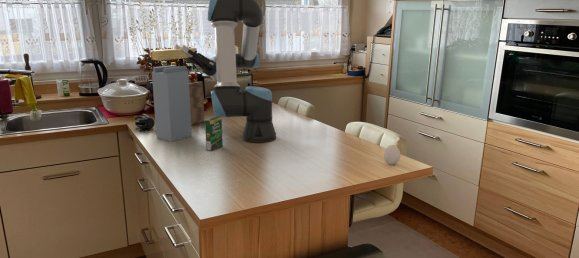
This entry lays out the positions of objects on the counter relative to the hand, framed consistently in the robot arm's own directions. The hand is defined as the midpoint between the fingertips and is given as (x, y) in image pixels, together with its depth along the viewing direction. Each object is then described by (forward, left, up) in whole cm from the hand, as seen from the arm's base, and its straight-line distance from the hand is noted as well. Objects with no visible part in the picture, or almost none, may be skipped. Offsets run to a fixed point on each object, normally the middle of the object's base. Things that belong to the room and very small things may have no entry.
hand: (179, 47), depth 198 cm
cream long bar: (0, +2, -5) cm, 5 cm away
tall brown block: (+19, -16, -40) cm, 47 cm away
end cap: (+22, +8, -41) cm, 47 cm away
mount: (-1, +6, -40) cm, 41 cm away
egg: (-92, -33, -40) cm, 106 cm away
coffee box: (-29, +3, -40) cm, 50 cm away
